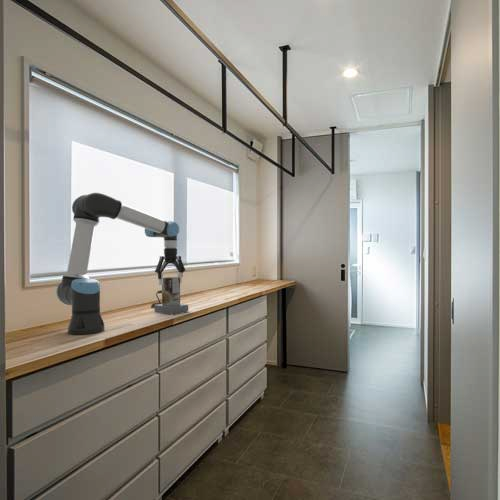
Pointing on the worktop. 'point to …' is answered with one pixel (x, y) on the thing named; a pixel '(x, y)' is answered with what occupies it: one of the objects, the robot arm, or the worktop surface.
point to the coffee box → (171, 291)
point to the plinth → (171, 308)
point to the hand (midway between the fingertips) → (170, 284)
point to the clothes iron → (158, 299)
